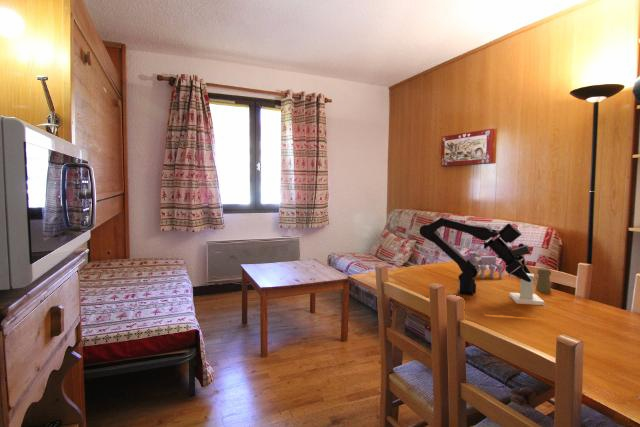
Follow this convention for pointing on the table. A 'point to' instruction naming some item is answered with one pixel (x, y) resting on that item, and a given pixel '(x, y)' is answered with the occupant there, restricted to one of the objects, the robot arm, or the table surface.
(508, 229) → the robot arm
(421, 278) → the table surface
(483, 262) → the toy sheep
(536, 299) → the tower top
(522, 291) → the block
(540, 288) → the olive green vase
